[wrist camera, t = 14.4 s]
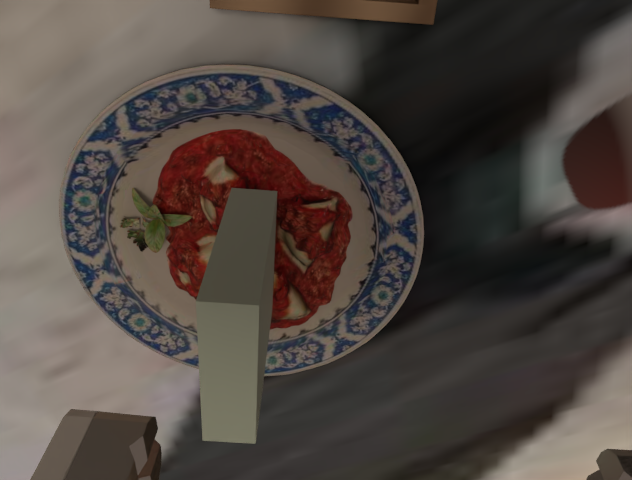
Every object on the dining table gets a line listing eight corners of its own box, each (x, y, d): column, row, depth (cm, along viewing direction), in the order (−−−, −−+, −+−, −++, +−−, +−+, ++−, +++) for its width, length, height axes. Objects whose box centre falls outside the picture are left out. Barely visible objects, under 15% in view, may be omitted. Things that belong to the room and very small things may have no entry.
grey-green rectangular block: (277, 191, 37) (259, 305, 26) (272, 309, 42) (255, 443, 32) (231, 187, 37) (195, 301, 26) (232, 307, 42) (202, 440, 32)
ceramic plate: (491, 168, 39) (503, 187, 36) (317, 395, 51) (316, 421, 48) (136, -24, 33) (120, -17, 30) (33, 287, 45) (16, 310, 42)
